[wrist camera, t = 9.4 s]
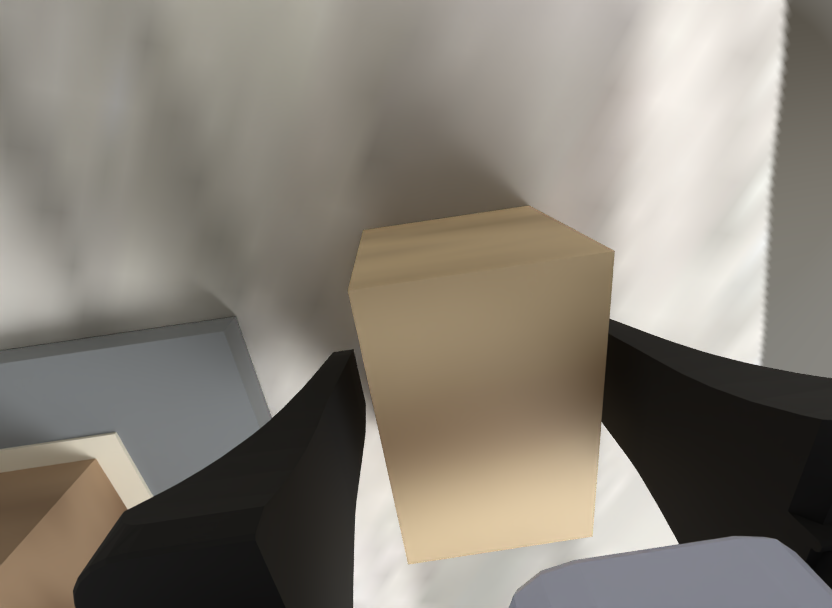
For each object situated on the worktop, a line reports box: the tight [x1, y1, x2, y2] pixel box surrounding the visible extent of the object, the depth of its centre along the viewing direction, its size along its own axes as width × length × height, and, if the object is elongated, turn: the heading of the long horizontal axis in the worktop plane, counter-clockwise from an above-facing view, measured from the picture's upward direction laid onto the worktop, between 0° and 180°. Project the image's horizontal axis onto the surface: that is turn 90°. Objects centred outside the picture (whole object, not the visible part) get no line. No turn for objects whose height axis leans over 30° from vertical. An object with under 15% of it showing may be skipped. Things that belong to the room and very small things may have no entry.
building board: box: [0, 317, 272, 509], centre depth 15 cm, size 16×16×1 cm
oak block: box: [348, 206, 615, 564], centre depth 11 cm, size 8×5×5 cm, turn 8°
